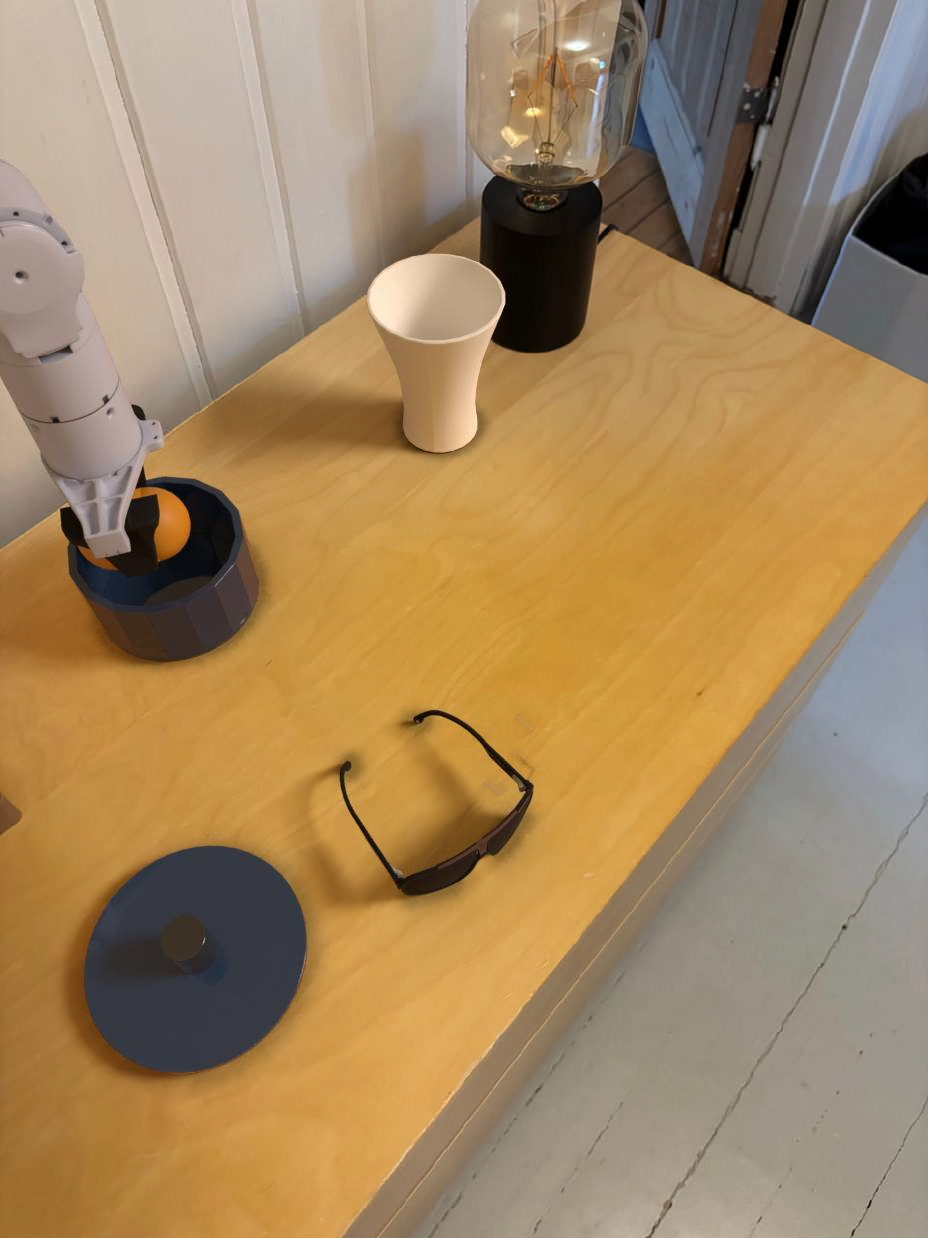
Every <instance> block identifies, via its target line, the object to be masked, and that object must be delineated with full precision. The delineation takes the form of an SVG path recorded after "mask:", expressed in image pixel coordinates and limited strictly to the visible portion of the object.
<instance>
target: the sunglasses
mask: <svg viewBox="0 0 928 1238" xmlns="http://www.w3.org/2000/svg"><path fill="white" fill-rule="evenodd" d="M431 716H436V717H437V716H438V717H442V718H443V719H447V720H449V721H451V722H453V723H455V724H456V725H458V726H460V727H461V728H463V729H464V730H465V731H467V732H468V733H469V734H471V736H473V737H474V739H475V740H477V741H478V742H479V743H480V745H481V746H482V747H483V749H484V751H485V752H486V754H487V755H488V757H489V758H490V759H491V760H492V761H493V762H494V763H495V764H496V765H497V766H498V767H499V768H500V769H502V771H503V772H504V773H506V774H507V775H508V776H509V777H510V778H511V779H512V781H514V782H515V783H516V784H517V786H518V791H519V792H520V793H524V794H523V795H522V796H521V799H520V800H519V801H518V802H517V804H516V805H515V807H514V808H513V809H512V810H511V811H510V812H509V813H508V814H507V815H506V816H505V817H504V818H503V819H502V821H500V822H499V823H498V824H497V825H496V826H495V827H493V828H492V829H491V830H489V831H488V832H487V833H486V834H484V835H482V836H481V837H479V838H478V839H476V840H475V842H473V843H472V844H470V845H469V846H467V847H466V848H465V849H463V850H461V851H460V852H458V853H457V854H455V855H453V856H451V857H449V858H447V859H445V860H443V861H441V862H439V863H438V864H436V865H434V866H431V867H428V868H426V869H423V870H421V871H417V872H414V873H411V874H409V875H407V876H405V877H404V874H403V872H402V870H399V869H396V868H395V867H393V865H392V864H391V862H389V861H388V859H387V858H386V857H385V855H384V853H383V852H382V851H381V849H380V847H379V846H378V845H377V842H375V840H374V838H373V837H372V836H371V833H370V832H369V831H368V829H367V828H366V826H365V825H364V823H363V822H362V820H361V819H360V817H359V815H358V814H357V812H356V810H355V809H354V807H353V806H352V804H351V801H350V799H349V796H348V793H347V789H346V782H345V773H346V772H349V771H351V769H352V763H351V761H350V760H346V761H345V762H344V763H343V764H342V765H341V766H340V769H339V785H340V790H341V794H342V798H343V801H344V803H345V806H346V808H347V810H348V812H349V814H350V816H351V817H352V819H353V820H354V822H355V823H356V825H357V827H358V828H359V830H360V832H361V833H362V835H363V836H364V839H365V840H366V842H367V844H368V845H369V846H370V848H371V849H372V851H373V852H374V854H375V856H376V857H377V859H378V860H379V862H380V863H381V865H382V866H383V867H384V869H385V871H386V873H387V874H388V875H389V877H390V878H391V880H392V882H393V883H394V885H395V886H396V888H397V890H398V891H401V893H402V894H403V895H405V896H411V897H412V896H414V897H415V896H422V895H428V894H432V893H436V892H439V891H443V890H444V889H447V888H450V887H452V886H453V885H456V884H458V883H460V882H461V881H462V880H464V879H465V878H467V877H468V876H469V875H470V874H471V873H472V872H473V871H474V870H475V868H476V867H477V865H478V863H479V862H480V861H481V859H483V858H484V857H486V856H487V855H490V856H493V857H494V856H496V855H498V854H499V853H500V852H501V851H502V850H503V849H504V847H505V846H506V844H508V842H509V841H510V839H511V838H512V837H513V835H514V834H515V832H516V831H517V829H518V827H519V826H520V824H521V822H522V820H523V818H524V817H525V814H526V812H527V810H528V809H529V806H530V804H531V802H532V799H533V796H534V787H535V785H534V783H532V782H531V781H530V780H529V779H526V778H525V777H524V776H523V775H522V774H521V773H520V772H519V771H518V770H516V769H515V767H513V765H512V764H510V763H509V762H508V761H507V760H506V759H505V757H503V756H502V755H501V754H500V753H498V751H497V750H495V748H494V747H492V746H491V745H490V744H489V743H488V742H487V740H486V739H485V738H484V737H483V736H482V735H481V734H480V733H478V732H477V730H476V729H474V728H473V727H472V726H470V725H469V724H468V723H467V722H465V721H463V720H462V719H460V718H459V717H457V716H455V715H453V714H451V713H448V712H445V711H444V710H440V709H428V710H425V711H423V712H421V713H418V714H416V715H414V716H413V718H412V721H413V723H414V724H416V725H419V724H422V723H423V722H424V720H425V719H426V718H428V717H431Z"/></svg>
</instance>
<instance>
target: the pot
mask: <svg viewBox="0 0 928 1238" xmlns="http://www.w3.org/2000/svg"><path fill="white" fill-rule="evenodd" d="M146 482H147V487H157V488H160V489H164V490H166V491H168V492H171V493H172V494H174V495H175V496H176V497H178V498H179V499H180V501H181V502H182V503H183V504H184V506H185V507H186V509H187V511H188V514H189V518H190V534H189V538H188V540H187V542H186V544H185V545H184V547H183V548H182V549H181V550H180V551H179V552H178V553H177V554H176V555H174V556H173V557H171V558H169V559H166V560H163V561H160V562H158V570H157V571H156V572H153V573H149V574H144V575H140V576H135V577H131V578H128V577H126V576H125V575H124V574H123V573H121V572H120V571H119V570H108V569H104V568H101V567H99V566H96V565H94V564H93V563H91V562H90V561H89V560H87V559H86V558H85V556H84V555H83V554H82V553H81V551H80V550H79V548H78V546H76V545H73V544H71V543H70V542H69V541H68V545H67V547H66V552H67V565H68V575H69V577H70V579H71V580H72V582H73V584H74V585H75V587H76V589H77V591H78V592H79V594H80V595H81V597H82V598H83V599H82V600H84V602H85V604H86V605H87V607H88V609H89V610H90V612H91V614H92V616H93V618H94V619H95V620H96V622H97V623H98V625H99V626H100V628H101V629H102V630H103V632H104V633H105V635H106V636H107V638H108V639H109V640H110V642H111V643H113V644H114V645H115V646H116V647H117V648H119V649H120V650H121V651H123V652H125V654H129V655H131V656H133V657H136V658H139V659H142V660H146V661H152V662H162V663H163V662H164V663H165V662H166V663H168V662H180V661H185V660H191V659H193V658H196V657H200V656H202V655H205V654H207V653H210V652H212V651H213V650H215V649H217V648H219V647H221V646H222V645H224V644H225V643H227V642H228V641H230V640H231V639H232V638H234V636H235V635H236V634H238V632H239V631H240V630H241V629H242V628H243V627H244V626H245V625H246V623H247V621H248V620H249V618H251V615H252V614H253V611H254V610H255V607H256V604H257V602H258V596H259V590H260V579H259V574H258V571H257V566H256V562H255V557H254V555H253V551H252V549H251V545H250V541H249V538H248V535H247V533H246V529H245V526H244V525H245V524H244V522H243V520H242V516H241V513H240V511H239V509H238V507H237V506H236V505H235V504H234V502H233V501H231V499H230V498H229V497H228V496H227V495H226V494H225V493H224V492H223V490H220V489H219V488H217V487H215V486H212V485H210V484H208V483H206V482H204V481H201V480H200V479H197V478H191V477H181V476H180V477H177V476H168V475H167V476H165V475H163V476H158V477H154V478H149V479H146Z"/></svg>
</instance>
